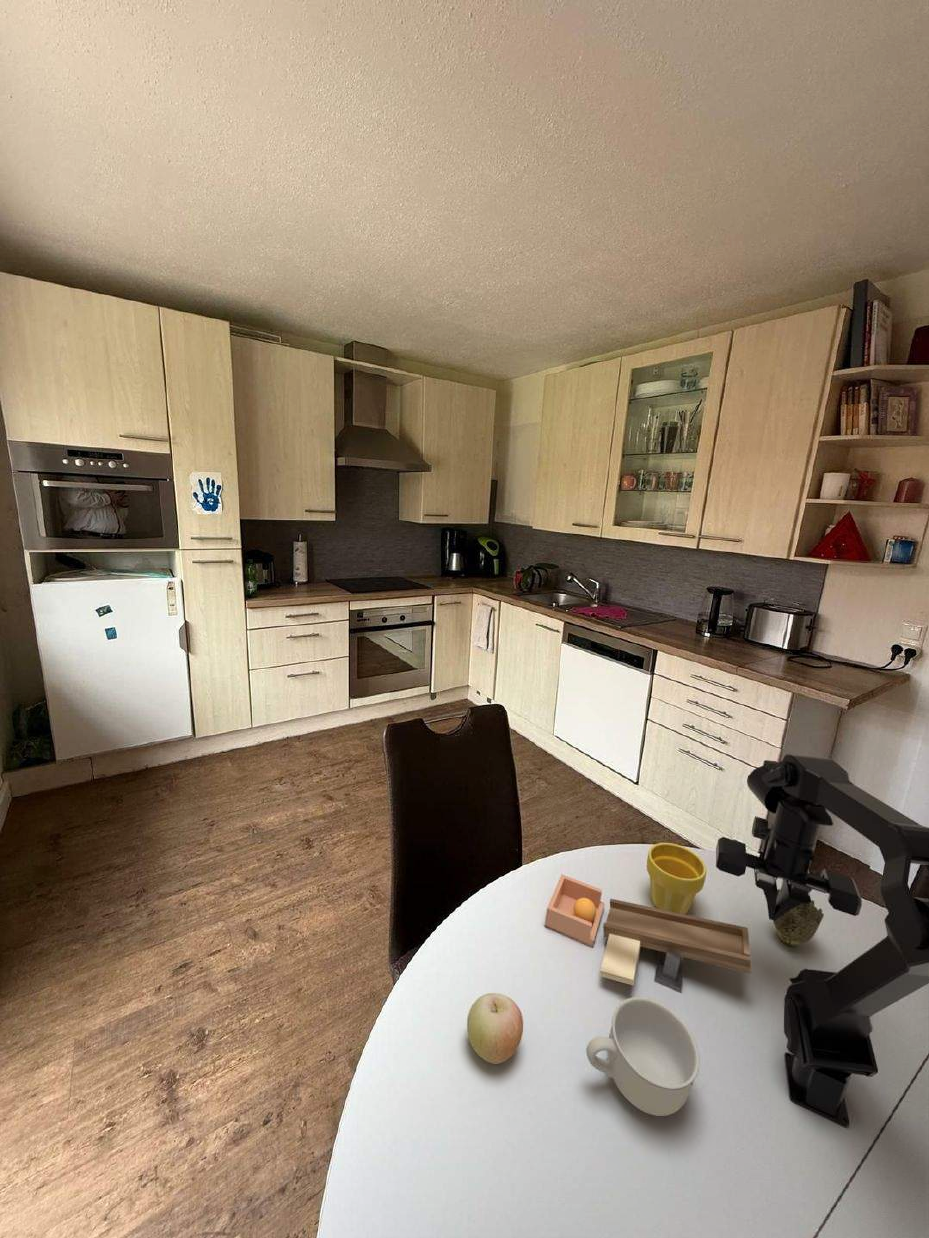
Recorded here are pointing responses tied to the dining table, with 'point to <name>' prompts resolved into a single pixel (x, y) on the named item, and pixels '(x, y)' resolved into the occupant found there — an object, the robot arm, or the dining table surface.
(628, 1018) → the teacup
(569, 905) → the peach open tray
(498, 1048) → the fruit
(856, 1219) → the dining table surface
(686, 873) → the plant pot
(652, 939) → the lever
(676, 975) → the seesaw stand
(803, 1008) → the robot arm
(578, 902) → the ball
